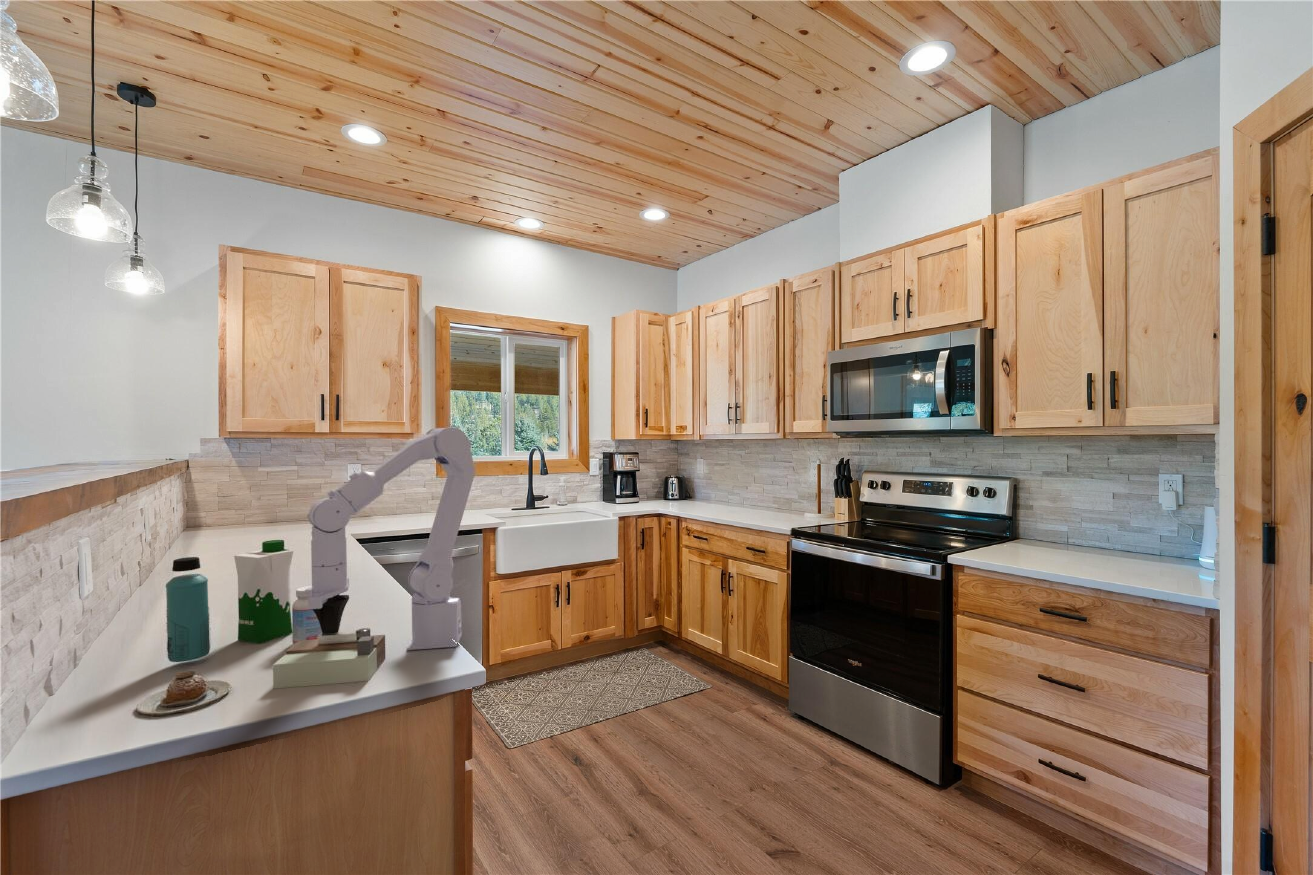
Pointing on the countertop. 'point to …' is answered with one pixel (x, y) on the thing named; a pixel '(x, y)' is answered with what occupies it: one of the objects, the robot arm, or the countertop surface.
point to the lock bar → (342, 636)
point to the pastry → (183, 694)
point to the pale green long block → (327, 666)
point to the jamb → (337, 647)
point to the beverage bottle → (187, 613)
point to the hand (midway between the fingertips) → (330, 637)
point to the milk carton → (264, 593)
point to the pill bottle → (304, 618)
